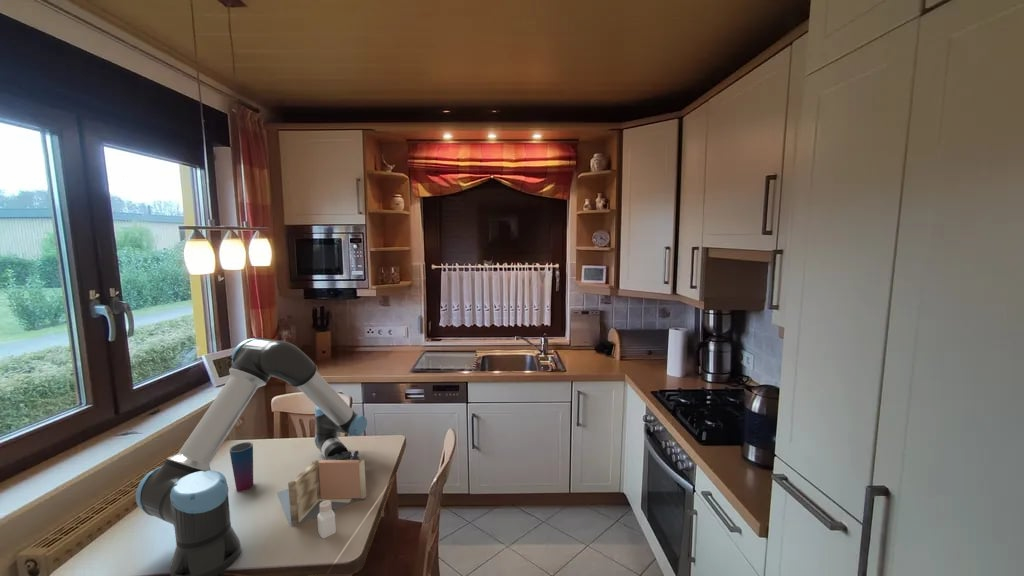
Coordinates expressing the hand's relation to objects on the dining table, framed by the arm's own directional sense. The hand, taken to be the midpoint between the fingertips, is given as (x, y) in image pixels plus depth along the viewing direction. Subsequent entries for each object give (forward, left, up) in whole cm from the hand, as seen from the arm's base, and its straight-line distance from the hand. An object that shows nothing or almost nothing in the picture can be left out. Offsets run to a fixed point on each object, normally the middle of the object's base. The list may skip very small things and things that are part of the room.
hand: (355, 479), depth 136 cm
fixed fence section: (-15, +3, -6) cm, 16 cm away
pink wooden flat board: (-4, +1, -5) cm, 7 cm away
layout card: (-9, +9, -6) cm, 14 cm away
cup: (-29, +31, -7) cm, 43 cm away
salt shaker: (-13, -12, -7) cm, 18 cm away
